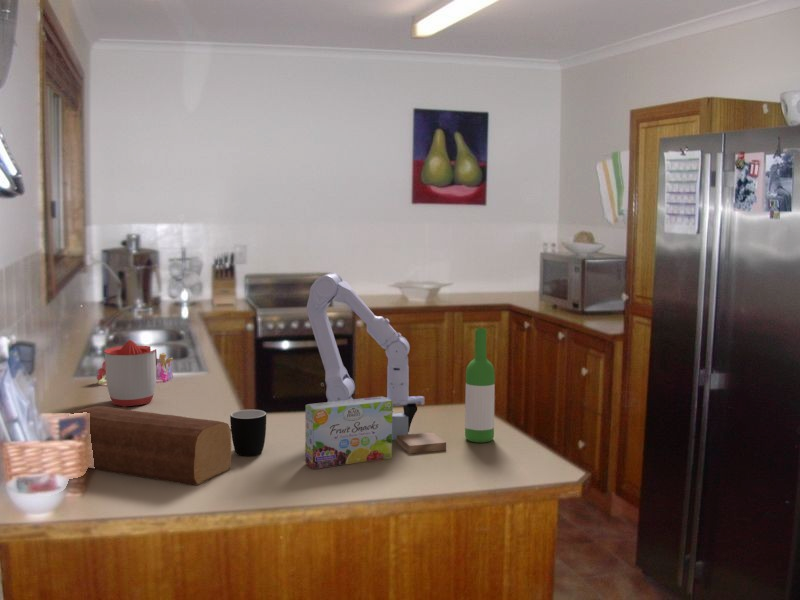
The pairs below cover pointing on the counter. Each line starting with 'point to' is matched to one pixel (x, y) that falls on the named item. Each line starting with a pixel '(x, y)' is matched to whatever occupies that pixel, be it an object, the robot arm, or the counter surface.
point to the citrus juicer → (131, 374)
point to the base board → (421, 442)
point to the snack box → (348, 431)
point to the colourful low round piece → (161, 371)
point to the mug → (248, 431)
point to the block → (399, 425)
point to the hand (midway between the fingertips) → (397, 432)
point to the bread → (158, 445)
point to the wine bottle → (479, 393)
